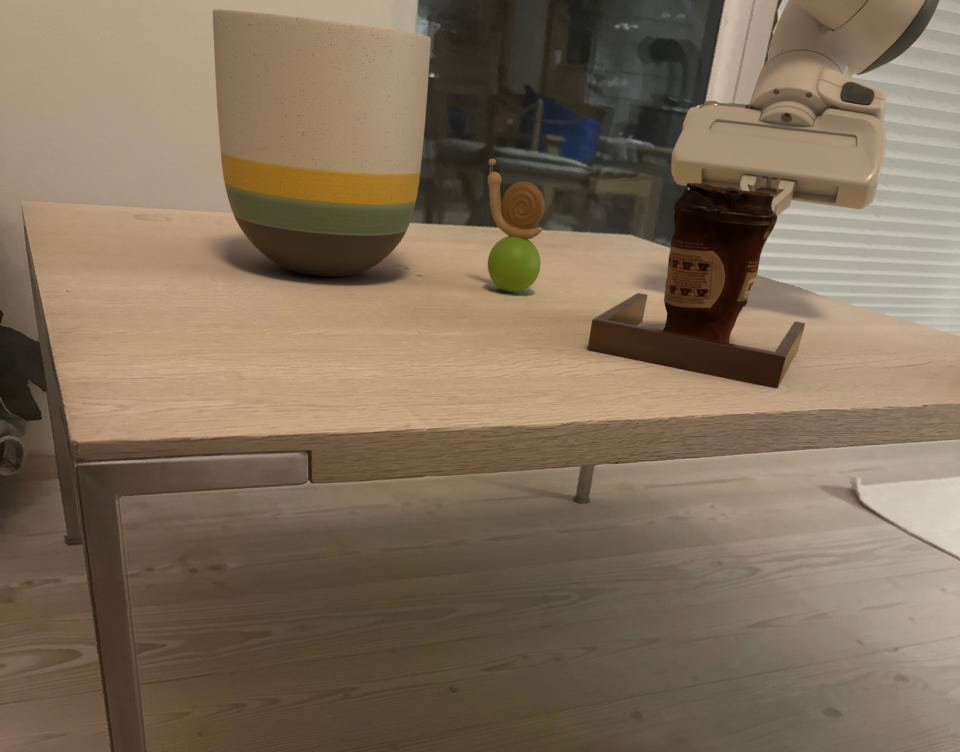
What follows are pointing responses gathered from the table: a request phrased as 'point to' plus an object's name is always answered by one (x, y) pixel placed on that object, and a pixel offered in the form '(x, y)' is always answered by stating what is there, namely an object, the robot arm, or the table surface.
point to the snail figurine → (515, 233)
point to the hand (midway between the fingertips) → (754, 224)
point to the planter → (320, 136)
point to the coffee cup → (714, 258)
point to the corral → (689, 347)
